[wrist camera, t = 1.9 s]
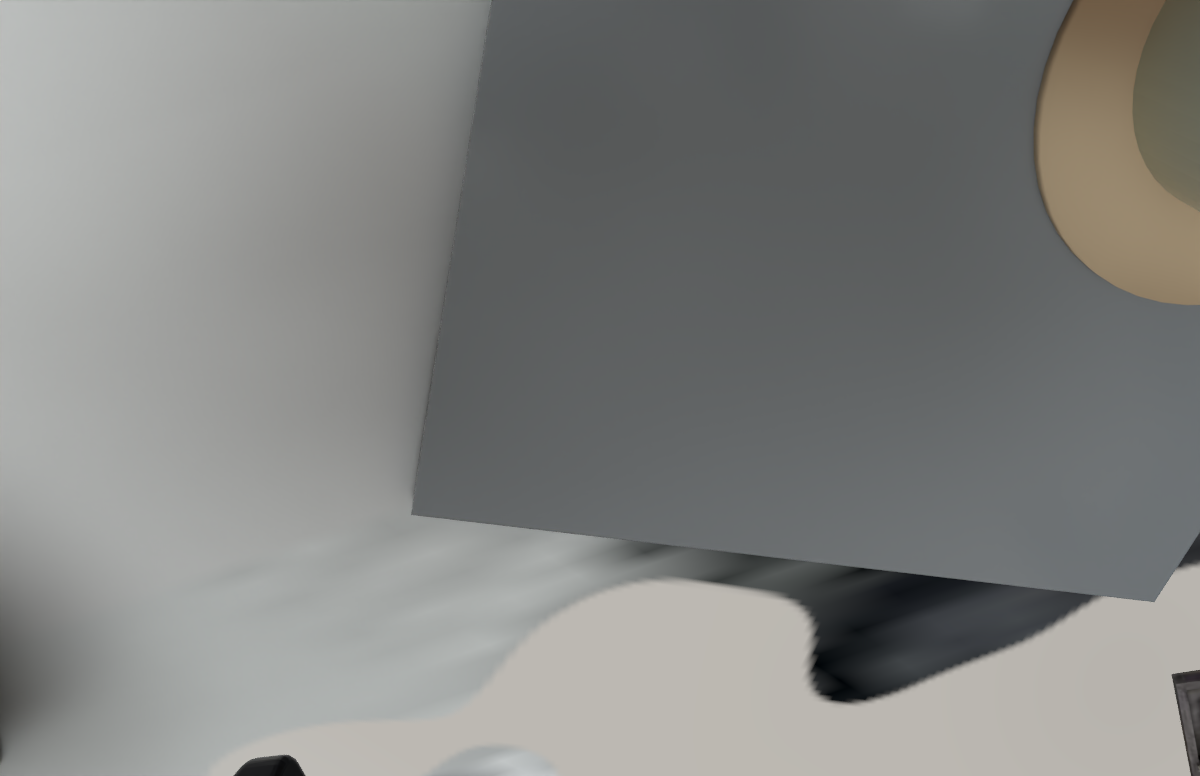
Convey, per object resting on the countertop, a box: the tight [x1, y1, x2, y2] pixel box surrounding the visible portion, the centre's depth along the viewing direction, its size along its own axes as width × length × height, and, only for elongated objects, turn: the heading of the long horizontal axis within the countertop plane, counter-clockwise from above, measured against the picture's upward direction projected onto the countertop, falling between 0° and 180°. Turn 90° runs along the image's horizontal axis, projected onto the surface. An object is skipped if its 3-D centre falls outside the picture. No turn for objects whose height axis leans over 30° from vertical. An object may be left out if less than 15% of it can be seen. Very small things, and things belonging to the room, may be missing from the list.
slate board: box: [411, 0, 1200, 602], centre depth 18 cm, size 24×19×1 cm
